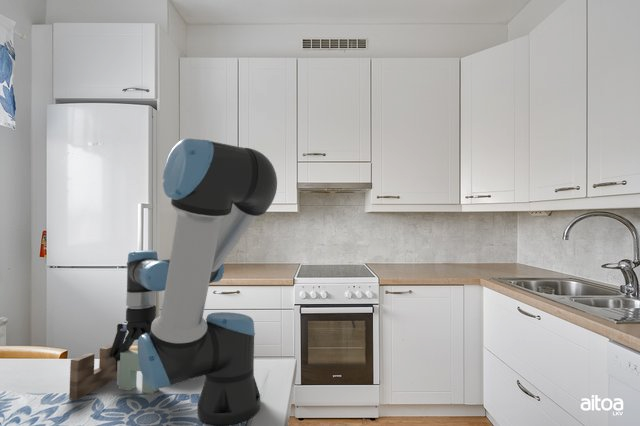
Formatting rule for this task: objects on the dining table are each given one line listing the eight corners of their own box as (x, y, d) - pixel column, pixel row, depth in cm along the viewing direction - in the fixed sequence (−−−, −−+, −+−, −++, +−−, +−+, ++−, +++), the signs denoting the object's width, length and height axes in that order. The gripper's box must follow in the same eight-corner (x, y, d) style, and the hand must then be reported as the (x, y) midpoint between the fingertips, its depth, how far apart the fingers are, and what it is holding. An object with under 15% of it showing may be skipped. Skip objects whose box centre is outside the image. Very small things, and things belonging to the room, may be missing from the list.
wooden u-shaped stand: (112, 376, 104) (114, 342, 105) (119, 377, 104) (120, 343, 104) (69, 398, 91) (70, 359, 91) (76, 399, 90) (77, 360, 91)
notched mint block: (159, 389, 96) (160, 353, 96) (152, 393, 94) (153, 356, 94) (126, 385, 99) (127, 349, 99) (119, 388, 96) (120, 352, 97)
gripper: (186, 305, 98) (184, 384, 97) (117, 300, 104) (115, 375, 103) (168, 311, 91) (166, 396, 90) (95, 306, 96) (93, 386, 95)
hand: (139, 385), depth 96 cm, fingers closed on notched mint block, 11 cm apart
